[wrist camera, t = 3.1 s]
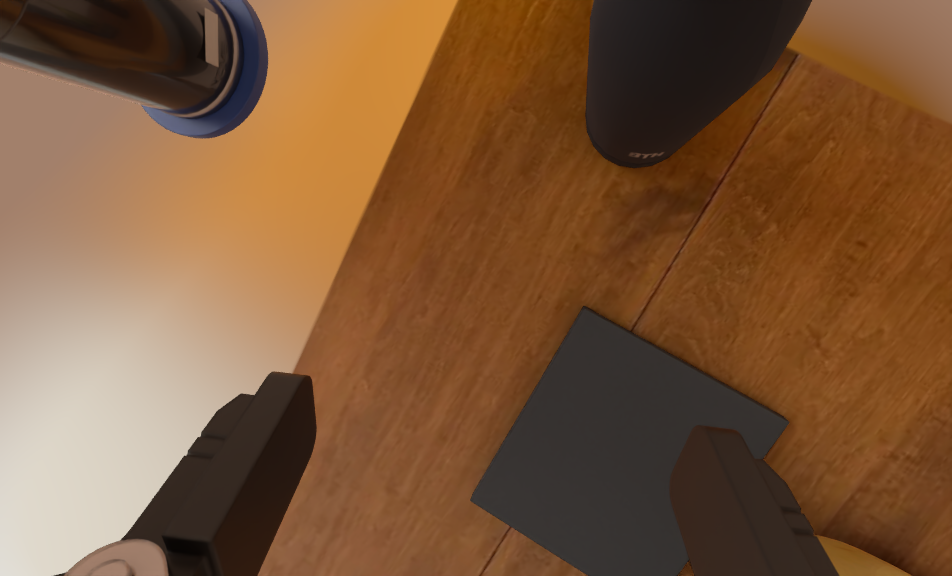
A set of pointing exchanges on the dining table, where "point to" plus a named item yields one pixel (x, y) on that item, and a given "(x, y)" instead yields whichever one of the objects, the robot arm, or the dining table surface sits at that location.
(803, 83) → the dining table surface
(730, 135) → the dining table surface
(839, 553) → the banana
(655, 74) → the insulated water bottle
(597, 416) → the mat
